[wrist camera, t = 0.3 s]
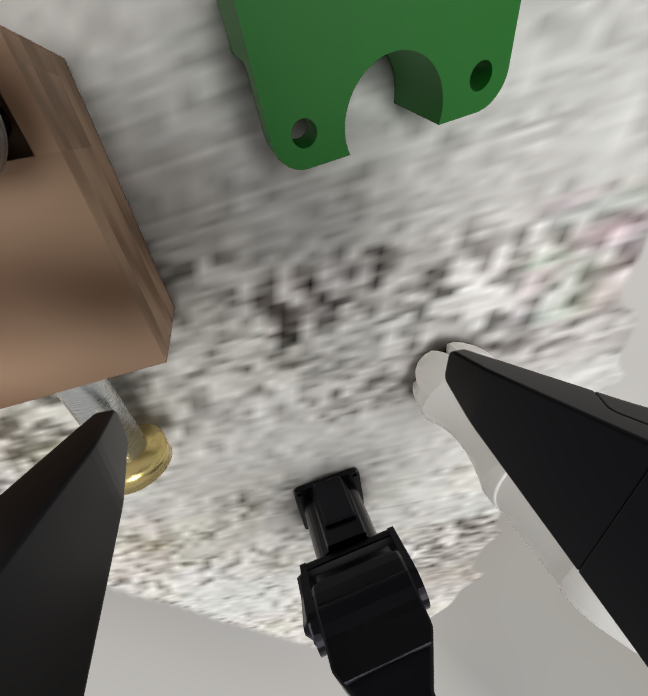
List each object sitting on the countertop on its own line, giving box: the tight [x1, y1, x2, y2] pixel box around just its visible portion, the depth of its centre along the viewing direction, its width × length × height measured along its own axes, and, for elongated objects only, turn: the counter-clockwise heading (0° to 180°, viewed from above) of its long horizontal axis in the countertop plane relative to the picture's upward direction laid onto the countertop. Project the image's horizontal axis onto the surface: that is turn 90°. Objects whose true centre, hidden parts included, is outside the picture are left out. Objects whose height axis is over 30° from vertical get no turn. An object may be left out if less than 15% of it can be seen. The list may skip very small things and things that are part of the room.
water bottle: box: [413, 342, 639, 655], centre depth 21 cm, size 7×7×25 cm
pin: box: [56, 379, 172, 495], centre depth 19 cm, size 15×4×4 cm, turn 9°
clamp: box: [217, 0, 521, 170], centre depth 15 cm, size 12×6×9 cm, turn 99°
